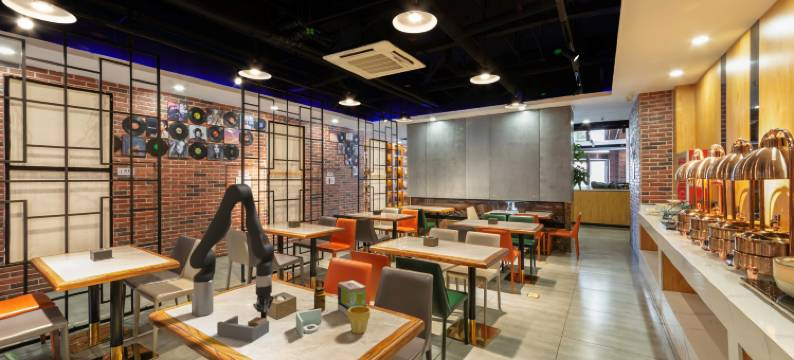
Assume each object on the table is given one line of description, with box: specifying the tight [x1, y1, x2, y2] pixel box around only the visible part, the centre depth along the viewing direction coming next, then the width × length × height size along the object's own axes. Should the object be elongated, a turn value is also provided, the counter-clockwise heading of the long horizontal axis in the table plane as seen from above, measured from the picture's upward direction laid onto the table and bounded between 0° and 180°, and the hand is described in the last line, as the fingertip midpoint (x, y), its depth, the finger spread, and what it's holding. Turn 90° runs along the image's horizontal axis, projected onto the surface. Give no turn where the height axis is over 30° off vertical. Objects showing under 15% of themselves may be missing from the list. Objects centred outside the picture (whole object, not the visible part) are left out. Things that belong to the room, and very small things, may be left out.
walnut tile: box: [247, 316, 268, 327], centre depth 166 cm, size 6×6×3 cm
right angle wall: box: [295, 309, 322, 338], centre depth 162 cm, size 12×12×8 cm
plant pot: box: [347, 306, 371, 334], centre depth 161 cm, size 10×10×10 cm
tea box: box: [337, 280, 367, 317], centre depth 184 cm, size 15×10×15 cm
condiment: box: [307, 286, 328, 313], centre depth 186 cm, size 7×8×12 cm
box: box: [216, 315, 270, 343], centre depth 157 cm, size 19×11×6 cm, turn 73°
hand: (263, 318), depth 170 cm, fingers closed
